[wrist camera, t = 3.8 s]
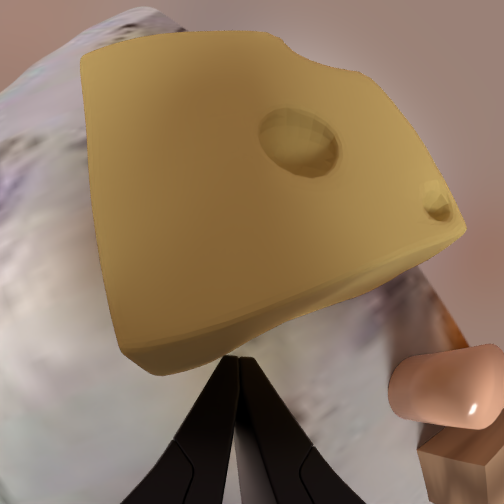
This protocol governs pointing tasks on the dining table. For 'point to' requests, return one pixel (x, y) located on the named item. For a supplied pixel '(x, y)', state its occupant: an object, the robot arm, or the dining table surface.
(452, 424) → the peach rounded capsule
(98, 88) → the cheese
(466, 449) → the walnut block
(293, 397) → the dining table surface
